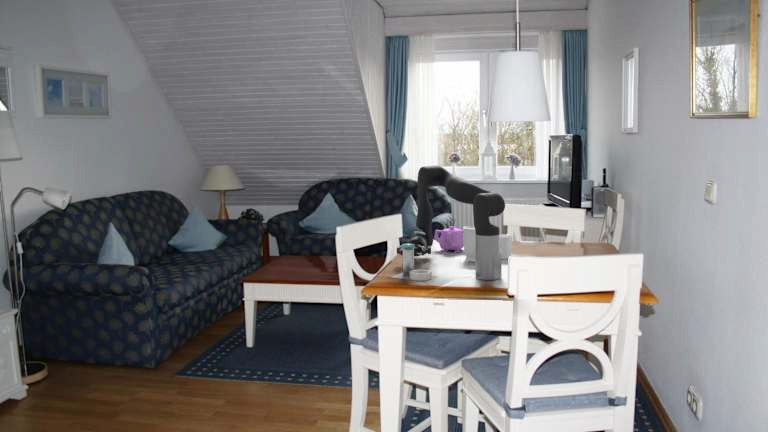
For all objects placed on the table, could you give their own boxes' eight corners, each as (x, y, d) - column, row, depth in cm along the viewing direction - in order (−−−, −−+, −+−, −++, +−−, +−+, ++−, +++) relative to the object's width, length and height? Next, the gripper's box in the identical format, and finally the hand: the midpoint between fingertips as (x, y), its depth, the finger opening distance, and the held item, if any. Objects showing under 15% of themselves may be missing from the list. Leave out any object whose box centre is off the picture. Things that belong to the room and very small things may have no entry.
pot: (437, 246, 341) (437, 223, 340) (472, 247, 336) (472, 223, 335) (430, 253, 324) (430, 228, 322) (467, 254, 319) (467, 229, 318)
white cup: (512, 259, 305) (512, 237, 304) (494, 259, 307) (494, 237, 305) (512, 256, 313) (512, 234, 311) (494, 256, 314) (494, 234, 313)
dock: (438, 279, 269) (438, 270, 268) (424, 284, 261) (424, 275, 260) (403, 275, 278) (403, 266, 277) (389, 280, 270) (389, 270, 269)
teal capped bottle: (417, 274, 274) (417, 244, 272) (410, 276, 270) (410, 246, 268) (406, 272, 277) (406, 243, 275) (399, 275, 273) (399, 245, 271)
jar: (458, 260, 305) (457, 227, 303) (472, 257, 312) (472, 224, 310) (477, 264, 297) (477, 229, 295) (491, 260, 304) (491, 226, 302)
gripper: (400, 237, 300) (394, 243, 284) (433, 237, 297) (429, 244, 281) (400, 254, 301) (395, 261, 285) (433, 254, 298) (429, 262, 282)
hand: (412, 253), depth 283 cm, fingers open, 8 cm apart
